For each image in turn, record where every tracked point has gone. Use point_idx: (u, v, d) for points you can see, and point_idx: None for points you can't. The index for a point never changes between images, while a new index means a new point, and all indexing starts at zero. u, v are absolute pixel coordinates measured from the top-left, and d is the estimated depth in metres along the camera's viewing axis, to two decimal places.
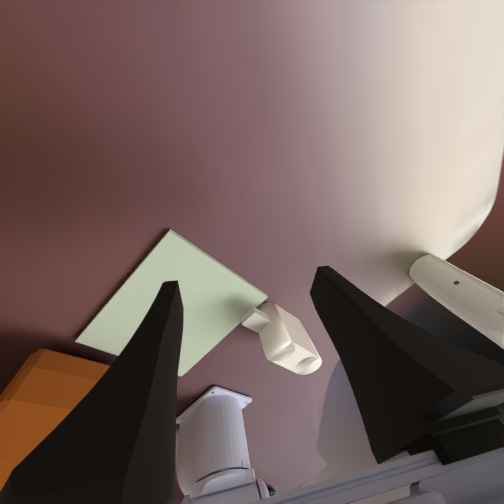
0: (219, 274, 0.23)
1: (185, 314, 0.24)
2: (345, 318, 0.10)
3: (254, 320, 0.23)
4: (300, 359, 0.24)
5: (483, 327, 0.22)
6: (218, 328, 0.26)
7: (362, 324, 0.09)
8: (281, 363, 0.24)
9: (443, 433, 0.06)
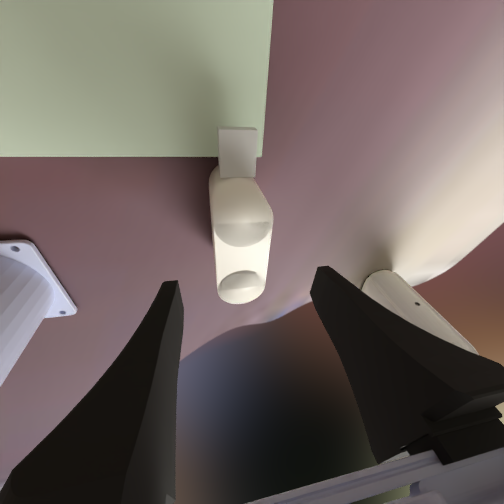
0: (254, 14, 0.11)
1: (117, 12, 0.10)
2: (345, 318, 0.10)
3: (241, 145, 0.12)
4: (243, 269, 0.14)
5: None
6: (147, 127, 0.13)
7: (362, 324, 0.09)
8: (220, 249, 0.13)
9: (443, 433, 0.06)
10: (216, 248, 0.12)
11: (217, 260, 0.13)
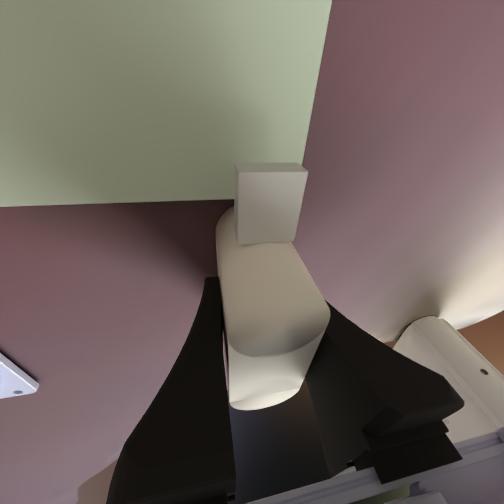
0: None
1: None
2: None
3: (277, 196, 0.07)
4: (271, 376, 0.09)
5: None
6: (117, 159, 0.08)
7: None
8: (237, 363, 0.08)
9: (383, 450, 0.06)
10: (231, 362, 0.07)
11: (231, 374, 0.08)
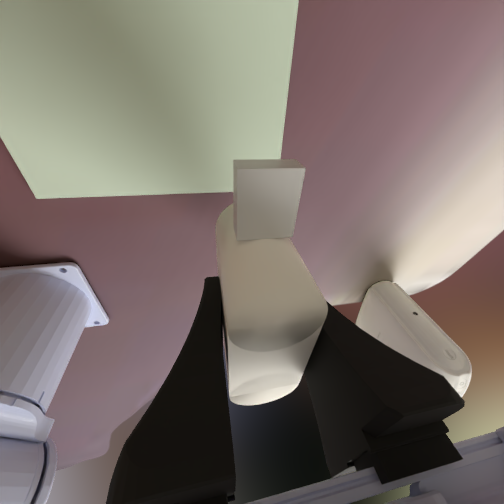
0: (274, 83, 0.13)
1: (164, 88, 0.12)
2: None
3: (276, 192, 0.07)
4: (270, 371, 0.09)
5: (425, 359, 0.21)
6: (181, 171, 0.15)
7: None
8: (236, 357, 0.08)
9: (383, 450, 0.06)
10: (230, 356, 0.08)
11: (231, 369, 0.08)
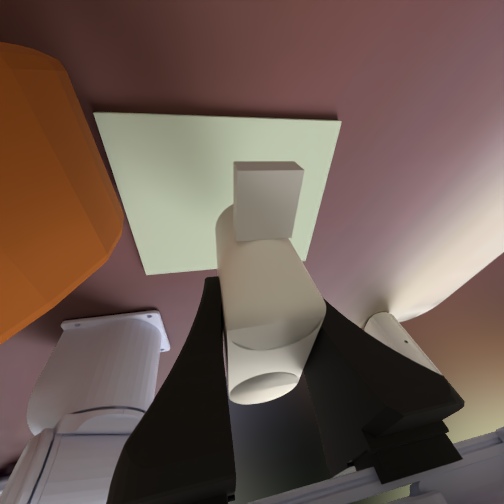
0: (310, 205, 0.20)
1: None
2: None
3: (275, 194, 0.07)
4: (269, 370, 0.09)
5: None
6: None
7: None
8: (236, 356, 0.08)
9: (383, 450, 0.06)
10: (230, 356, 0.08)
11: (230, 368, 0.08)
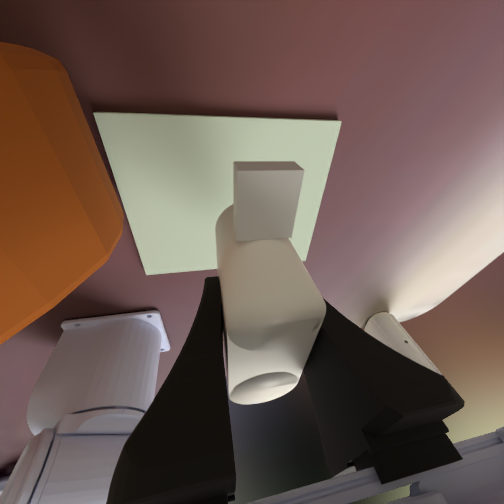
0: (310, 205, 0.20)
1: None
2: None
3: (275, 194, 0.07)
4: (269, 370, 0.09)
5: None
6: None
7: None
8: (236, 356, 0.08)
9: (383, 450, 0.06)
10: (230, 356, 0.08)
11: (230, 368, 0.08)
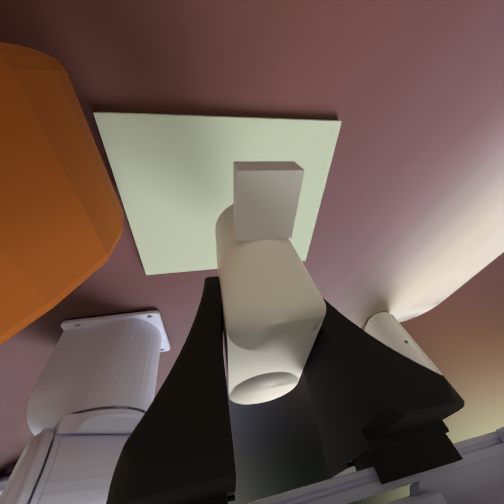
0: (310, 205, 0.20)
1: None
2: None
3: (275, 194, 0.07)
4: (269, 370, 0.09)
5: None
6: None
7: None
8: (236, 356, 0.08)
9: (383, 450, 0.06)
10: (230, 356, 0.08)
11: (230, 368, 0.08)
